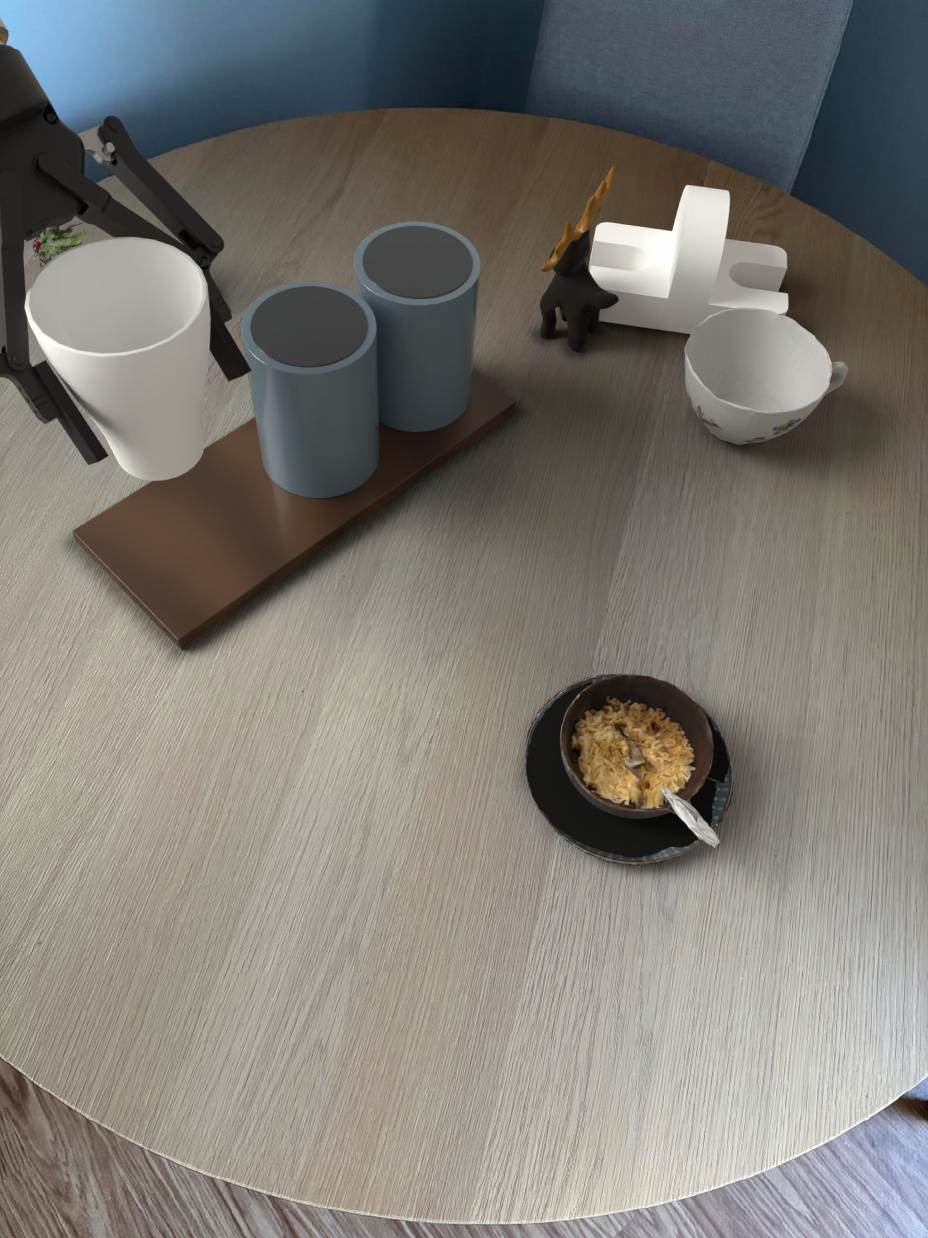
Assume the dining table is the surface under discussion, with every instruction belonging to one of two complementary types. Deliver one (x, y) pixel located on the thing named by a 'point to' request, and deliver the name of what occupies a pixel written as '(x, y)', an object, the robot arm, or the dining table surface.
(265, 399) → the slate cup
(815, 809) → the dining table surface
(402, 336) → the slate cup
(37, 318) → the cup
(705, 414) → the teacup
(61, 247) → the christmas decoration
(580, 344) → the figurine
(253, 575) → the walnut board
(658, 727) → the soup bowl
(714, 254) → the bracket
